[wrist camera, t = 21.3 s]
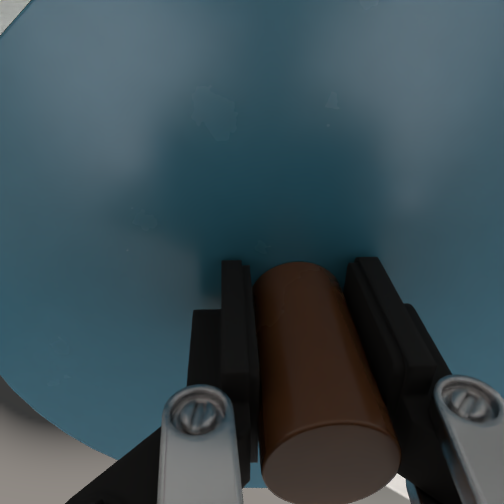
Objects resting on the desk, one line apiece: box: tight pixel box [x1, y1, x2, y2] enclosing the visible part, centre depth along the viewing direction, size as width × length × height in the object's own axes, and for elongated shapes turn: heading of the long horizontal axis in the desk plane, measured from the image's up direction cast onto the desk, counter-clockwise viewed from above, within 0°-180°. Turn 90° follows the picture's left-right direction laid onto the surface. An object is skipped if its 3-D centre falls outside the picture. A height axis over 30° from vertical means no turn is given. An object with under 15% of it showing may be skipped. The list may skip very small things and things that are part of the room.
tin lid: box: [0, 0, 504, 504], centre depth 11 cm, size 18×18×6 cm
